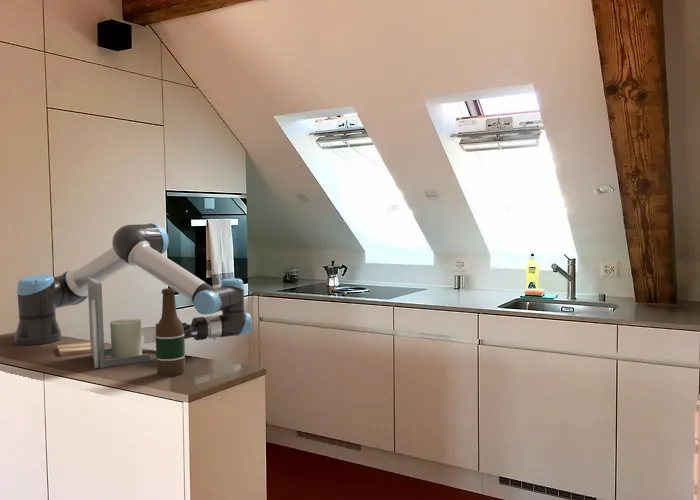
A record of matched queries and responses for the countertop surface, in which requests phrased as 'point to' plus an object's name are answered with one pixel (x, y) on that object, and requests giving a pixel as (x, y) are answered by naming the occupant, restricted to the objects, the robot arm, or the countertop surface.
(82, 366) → the countertop surface
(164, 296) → the beer bottle
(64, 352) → the oak pad
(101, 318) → the grey l-shaped stand
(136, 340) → the can
